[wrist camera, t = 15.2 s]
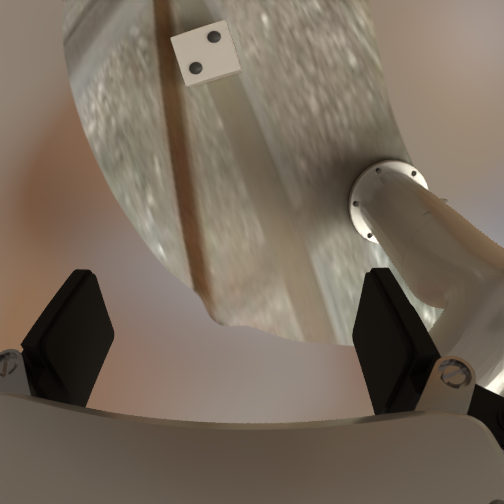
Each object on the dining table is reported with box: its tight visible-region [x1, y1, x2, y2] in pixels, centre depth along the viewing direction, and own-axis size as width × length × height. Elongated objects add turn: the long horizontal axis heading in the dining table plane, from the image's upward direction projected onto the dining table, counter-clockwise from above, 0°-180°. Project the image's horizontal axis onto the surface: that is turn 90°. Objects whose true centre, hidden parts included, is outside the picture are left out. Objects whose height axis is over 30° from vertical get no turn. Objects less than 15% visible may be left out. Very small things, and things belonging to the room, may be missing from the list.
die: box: [170, 20, 243, 87], centre depth 31 cm, size 6×6×6 cm
